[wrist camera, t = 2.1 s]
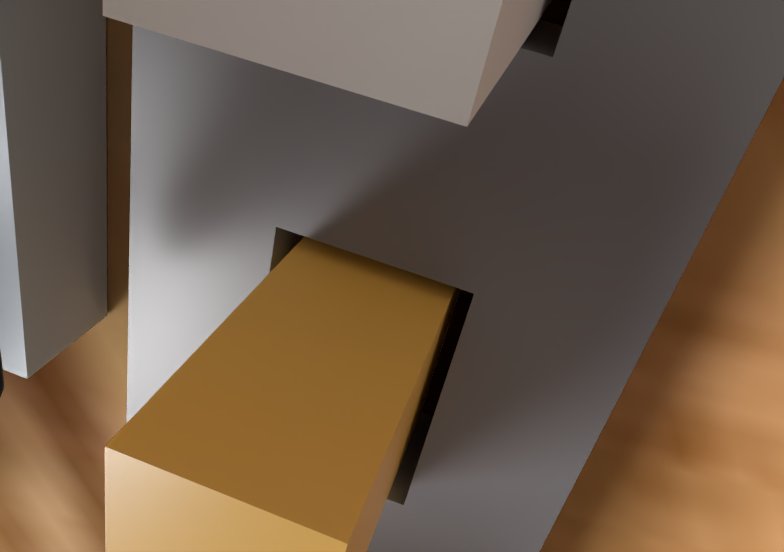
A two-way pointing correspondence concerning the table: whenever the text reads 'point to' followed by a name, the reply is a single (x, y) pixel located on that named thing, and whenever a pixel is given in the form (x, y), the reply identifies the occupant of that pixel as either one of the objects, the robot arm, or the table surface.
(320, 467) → the block
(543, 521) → the fuse holder
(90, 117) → the tray
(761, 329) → the table surface
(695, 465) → the table surface
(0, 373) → the robot arm
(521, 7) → the block
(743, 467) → the table surface
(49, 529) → the table surface
